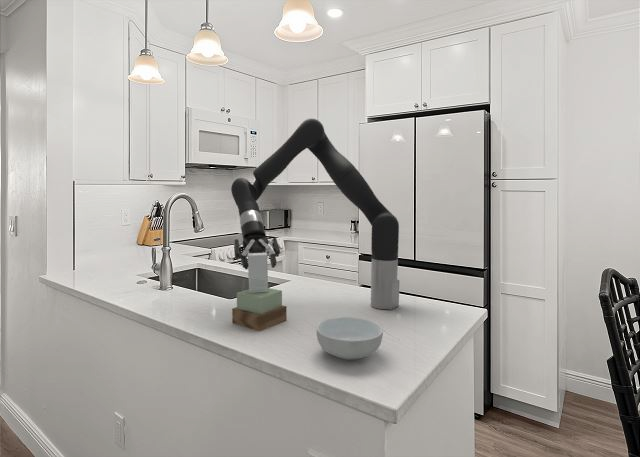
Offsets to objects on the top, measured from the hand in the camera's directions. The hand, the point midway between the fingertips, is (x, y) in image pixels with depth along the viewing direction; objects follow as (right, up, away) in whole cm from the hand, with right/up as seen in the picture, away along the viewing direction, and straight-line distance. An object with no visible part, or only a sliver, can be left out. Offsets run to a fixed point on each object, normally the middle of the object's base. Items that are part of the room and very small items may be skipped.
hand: (260, 267), depth 126 cm
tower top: (-1, -13, +2) cm, 13 cm away
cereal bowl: (+26, -21, -21) cm, 39 cm away
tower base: (-1, -18, +2) cm, 18 cm away
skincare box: (-1, -8, +2) cm, 8 cm away
